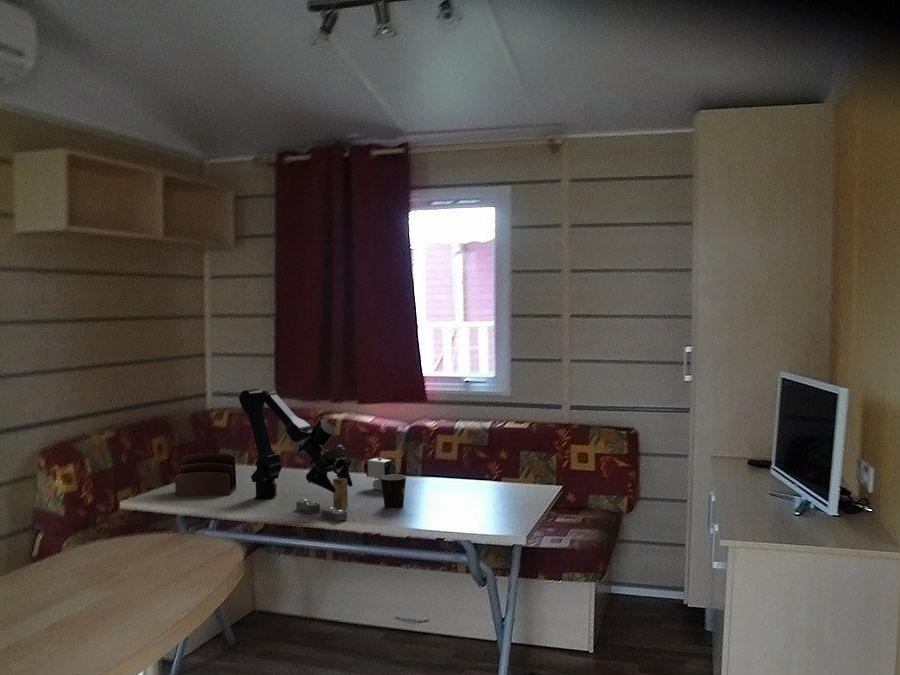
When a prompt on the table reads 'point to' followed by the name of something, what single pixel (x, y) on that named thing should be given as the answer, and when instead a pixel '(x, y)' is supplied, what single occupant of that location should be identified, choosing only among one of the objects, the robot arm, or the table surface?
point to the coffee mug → (393, 490)
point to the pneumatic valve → (379, 470)
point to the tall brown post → (340, 493)
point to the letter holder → (206, 475)
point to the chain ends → (327, 513)
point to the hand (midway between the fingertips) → (343, 488)
